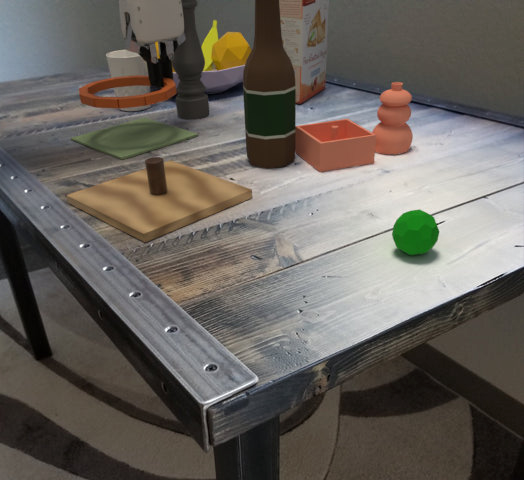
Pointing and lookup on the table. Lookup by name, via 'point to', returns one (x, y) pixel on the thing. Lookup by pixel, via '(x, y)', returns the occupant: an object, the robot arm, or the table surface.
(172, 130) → the mat
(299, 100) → the cracker box
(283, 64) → the beer bottle
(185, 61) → the grey turned spindle
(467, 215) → the table surface
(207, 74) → the fruit bowl
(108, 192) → the post stand
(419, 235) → the polyhedron
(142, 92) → the white cup
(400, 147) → the pottery
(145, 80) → the ring
